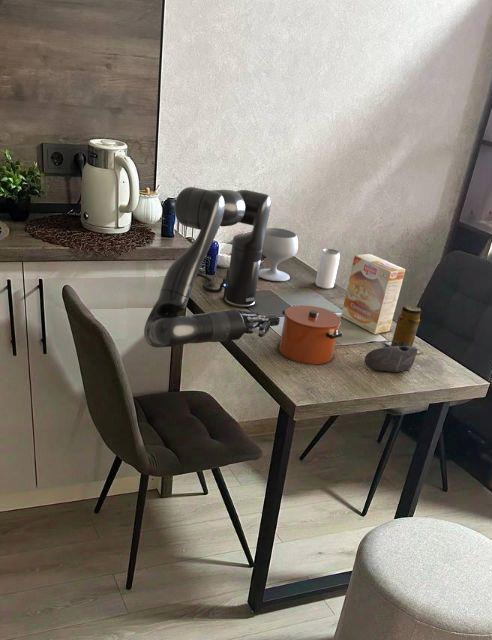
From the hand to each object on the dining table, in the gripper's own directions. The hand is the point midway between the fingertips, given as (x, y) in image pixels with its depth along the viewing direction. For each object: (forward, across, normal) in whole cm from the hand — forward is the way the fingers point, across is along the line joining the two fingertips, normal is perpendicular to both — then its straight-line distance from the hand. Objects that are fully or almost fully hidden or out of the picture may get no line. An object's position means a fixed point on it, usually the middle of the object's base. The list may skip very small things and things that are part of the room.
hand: (277, 320), depth 190 cm
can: (+53, +46, +10) cm, 70 cm away
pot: (+12, 0, +10) cm, 16 cm away
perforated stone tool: (+28, -16, +11) cm, 34 cm away
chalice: (+39, +58, +10) cm, 71 cm away
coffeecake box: (+44, +13, +10) cm, 47 cm away
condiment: (+43, -6, +11) cm, 45 cm away
